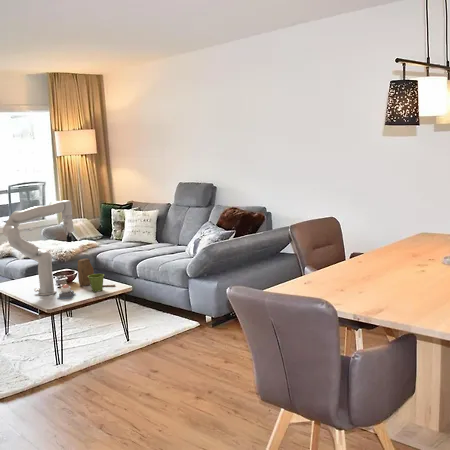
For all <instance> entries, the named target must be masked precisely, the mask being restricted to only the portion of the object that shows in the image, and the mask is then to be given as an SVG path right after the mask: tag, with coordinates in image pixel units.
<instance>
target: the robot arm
mask: <svg viewBox="0 0 450 450" xmlns="http://www.w3.org/2000/svg"><path fill="white" fill-rule="evenodd" d="M59 213H60V214H61V220H62V222H63V232H64V234H65V235H66V236H65V237H66V242H67V243H72V242H73V238H72V233H73V232H74V230H75V229H74V222H73V221H74V219H73V208H72V200H68V199H66V200H52V201H51V202H50V203H49V204H47V205H37V206H33V207H29V208H27V209H24V210H15V211H13V212H12V213H11V214H10V216H9V218H8V220H7V221H6V222H5V224H4V226H3V227H2V234H3V235H4V236H5V237H7V242H8V244H9V245H10V247H12V248H13V249H15V250H16V251H18V252H19V253H21V254H22V255H23V256H24V257H27V258H29V259H30V260H33V261H35V262H37V274H38V283H39V288H37V287H36V288H34V289H33V290H34V292H37V295H38V296H40V297H41V296H43V297H44V296H52V295H55V294H57V290H56V289H55V287H54V284H55V283H54V276H53V265H52V264H53V263H52V262H53V256H52V254H51V253H50V252H49V251H48V250H45V249H42V248H40V247H38V246H37V245H35V244H34V243H31V242H29V241H27V240H25V239H24V238H23V237H21V235H20V229H19V226H20V224H25V223H28V222H31V221H34V220H37V219H41V218H45V217H46V218H47V217H50V216H54V215H56V214H59Z"/></svg>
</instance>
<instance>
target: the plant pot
mask: <svg viewBox="0 0 450 450" xmlns="http://www.w3.org/2000/svg"><path fill="white" fill-rule="evenodd" d="M88 277H89V280H90V284H91V285H90V287H91V292H94V293H95V292H101V291H103V288H104V287H103V285H104V277H105V274H104V273H94V274H92V275H89V276H88Z"/></svg>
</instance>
